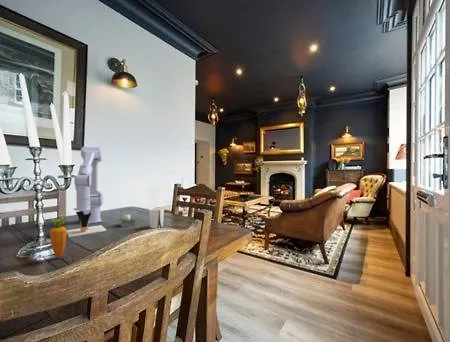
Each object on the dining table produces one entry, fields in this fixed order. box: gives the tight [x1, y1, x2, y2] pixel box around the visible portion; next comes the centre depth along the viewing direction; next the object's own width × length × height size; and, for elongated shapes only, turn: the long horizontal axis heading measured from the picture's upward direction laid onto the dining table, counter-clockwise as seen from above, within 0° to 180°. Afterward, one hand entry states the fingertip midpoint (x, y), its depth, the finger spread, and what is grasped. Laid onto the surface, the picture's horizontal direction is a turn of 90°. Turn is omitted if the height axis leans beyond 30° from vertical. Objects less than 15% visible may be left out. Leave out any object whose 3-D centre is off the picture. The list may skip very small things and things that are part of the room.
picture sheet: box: [66, 224, 107, 238], centre depth 116 cm, size 11×16×1 cm
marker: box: [79, 221, 89, 231], centre depth 113 cm, size 3×3×7 cm
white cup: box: [148, 207, 165, 229], centre depth 125 cm, size 8×8×10 cm
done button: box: [121, 213, 132, 221], centre depth 128 cm, size 4×4×4 cm
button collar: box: [117, 217, 136, 228], centre depth 128 cm, size 7×7×3 cm
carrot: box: [49, 216, 68, 259], centre depth 83 cm, size 5×5×15 cm
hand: (83, 226), depth 113 cm, fingers closed on marker, 3 cm apart
